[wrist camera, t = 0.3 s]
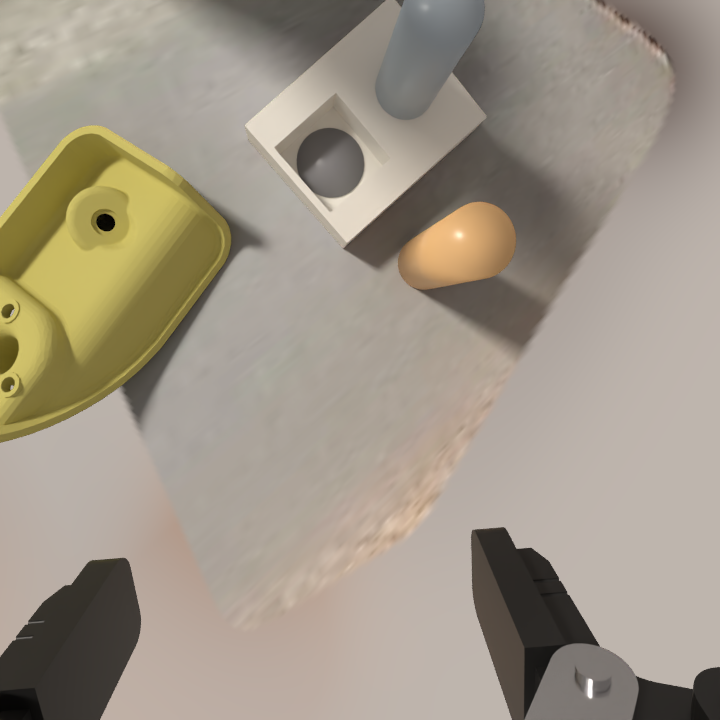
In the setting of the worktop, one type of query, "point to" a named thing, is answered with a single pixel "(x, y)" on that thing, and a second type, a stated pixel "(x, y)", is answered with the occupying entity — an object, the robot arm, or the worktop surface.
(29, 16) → the worktop surface
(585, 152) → the worktop surface
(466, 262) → the tan round-top capsule
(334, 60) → the housing
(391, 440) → the worktop surface
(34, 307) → the plastic component
